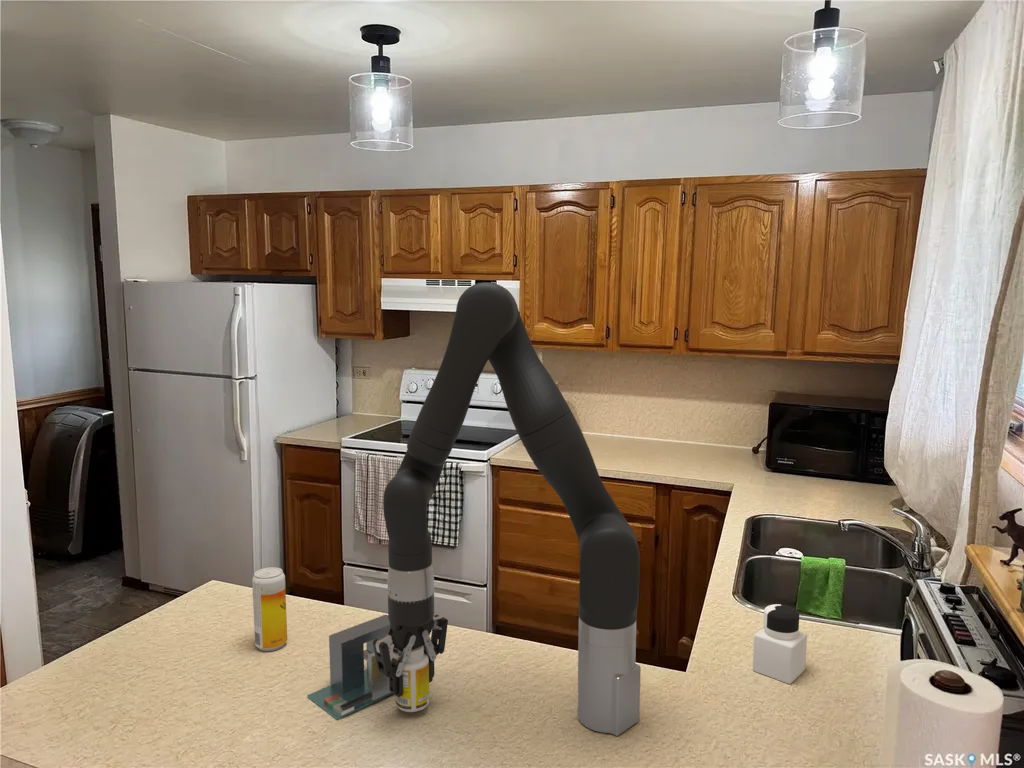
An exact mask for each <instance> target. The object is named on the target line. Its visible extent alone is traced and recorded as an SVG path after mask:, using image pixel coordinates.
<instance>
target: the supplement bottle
mask: <svg viewBox="0 0 1024 768" xmlns="http://www.w3.org/2000/svg"><path fill="white" fill-rule="evenodd" d="M399 653H400V654H401V655H402V652H401V651H400V652H399ZM397 662H398V661H397ZM396 665H397V663H396ZM402 675H403V695H402V696H400V697H397V696H395V704H396V705H395V706H396V707H397V708H398V709H399V710H401V711H403V712H406V713H414V712H419V711H421V710H424V709H425V708H427V706H428V705H429V702H430V683H429V659H428V656H427V655H426V654H425V653H424V646H420V647H418V648H416V649H414V650H411V652H410V655H409V659H408V661H407V662H406V663H405V664H404V668H403V671H402Z"/></svg>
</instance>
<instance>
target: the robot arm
mask: <svg viewBox="0 0 1024 768" xmlns="http://www.w3.org/2000/svg"><path fill="white" fill-rule="evenodd" d="M452 322H453V323H452V327H451V330H450V331H451V332H450V335H449V339H448V342H447V346H446V349H445V352H444V355H443V358H442V361H441V363H440V367H439V369H438V370H437V371H438V372H437V373H436V376H435V378H434V381H433V382H432V384H431V387H430V389H429V391H428V393H427V395H426V398H425V400H424V403H423V404H422V407H421V409H420V411H419V413H418V415H417V417H416V420H415V423H414V425H413V427H412V429H411V432H410V435H409V436H408V440H407V444H406V448H407V449H406V452H405V454H404V456H403V458H402V461H401V463H400V465H399V467H398V470H397V471H396V473H395V475H394V476H393V477H392V478H391V479H390V480H389V482H388V483H387V484H386V486H385V489H384V490H383V491H384V492H383V499H382V505H383V506H382V509H383V510H382V511H383V517H384V523H385V528H386V532H387V537H388V547H387V549H388V570H387V582H386V583H387V615H388V618H389V622H390V630H389V632H388V636H386V637H384V638H383V639H381V640H380V639H378V638H376V639H375V640H374V641H373V647H374V652H375V657H376V662H377V668H378V671H379V672H381V673H382V674H384V675H386V676H387V677H389V690H390V692H392V693H393V694H392V695H394V696H395V697H396V696H397V697H400V696H402V695H403V675H402V671H403V668H404V664H405V663H406V662H407V661H408V659H409V655H410V652H411V650H414V649H416V648H418V647H420V646H424V653H425V654H426V655H427V656H428V659H429V684H430V683H432V682H433V680H434V676H435V661H436V659H437V657H438V655H442V654H443V653H444V652H445V649H446V641H447V631H448V625H449V620H448V618H445V617H444V616H443V615H442V616H441V615H439V614H435V576H434V570H433V569H434V568H433V545H432V544H433V543H432V541H433V540H432V534H431V532H430V530H429V529H428V515H427V514H428V505H429V502H430V501H431V499H432V498H433V495H434V493H435V491H436V489H437V488H436V487H437V486H438V483H439V480H440V477H441V475H442V472H443V468H444V465H445V462H446V461H447V459H448V458H449V456H450V454H451V452H452V451H453V450H452V449H453V448H454V446H455V444H456V442H457V441H456V440H457V439H458V436H459V434H460V431H461V429H462V426H463V425H464V422H465V419H466V416H467V414H468V411H469V407H470V405H471V401H472V397H473V394H474V392H475V389H476V388H477V387H476V386H477V385H478V382H479V379H480V376H481V374H482V372H483V371H484V369H485V366H486V364H487V362H489V363H490V366H491V367H492V369H493V371H494V373H495V375H496V376H497V380H498V383H499V385H500V389H501V392H502V396H503V399H504V401H505V404H506V408H507V411H508V413H509V415H510V419H511V422H512V423H513V426H514V429H515V431H516V432H517V433H516V434H517V435H518V436H519V439H520V441H521V442H522V445H523V447H524V449H525V451H526V452H527V454H528V456H529V457H530V460H531V461H532V463H533V464H534V466H535V467H536V469H537V470H538V471H539V473H540V474H541V475H542V477H543V478H544V479H545V481H546V482H547V483H548V484H549V486H550V487H551V488H552V489H553V490H554V491H555V493H556V494H557V496H558V497H559V499H560V500H561V502H562V503H563V506H564V508H565V510H566V511H567V515H568V516H569V518H570V521H571V524H572V526H573V528H574V531H575V534H576V537H577V540H578V543H579V597H578V642H577V643H578V645H577V648H578V649H577V650H578V652H577V654H578V655H577V658H578V659H577V718H578V721H579V722H580V723H581V724H582V725H583V726H584V727H586V728H587V729H589V730H591V731H595V732H599V733H603V734H604V733H605V734H612V735H614V736H616V737H617V736H619V735H621V734H622V733H624V732H625V731H627V730H628V729H630V728H631V727H633V726H634V725H635V724H636V723H638V722H640V715H641V714H640V712H641V711H640V707H641V704H640V703H641V702H640V701H641V670H642V669H641V668H642V667H641V666H640V665H639V664H638V663H636V648H637V615H638V608H639V601H640V600H639V597H640V595H639V593H640V573H641V561H640V560H641V555H640V553H641V552H640V547H639V544H638V541H637V538H636V534H635V532H634V529H633V528H632V526H631V525H630V523H629V522H628V521H627V518H625V516H624V515H623V514H622V512H621V511H620V509H619V507H618V505H617V504H616V503H615V501H614V499H613V498H612V496H611V495H610V493H609V492H608V490H607V488H606V487H605V485H604V483H603V481H602V479H601V477H600V475H599V472H598V469H597V466H596V463H595V460H594V457H593V455H592V452H591V450H590V448H589V445H588V442H587V440H586V438H585V436H584V434H583V432H582V429H581V427H580V425H579V424H578V422H577V421H578V420H577V419H576V418H575V415H574V413H573V411H572V409H571V408H570V406H569V404H568V402H567V400H565V398H564V395H563V394H562V392H561V390H560V389H559V387H558V386H557V384H556V382H555V381H554V379H553V378H552V376H551V375H550V373H549V371H548V370H547V368H546V367H545V365H544V364H543V362H542V361H541V358H539V356H538V354H537V352H536V350H535V348H534V346H533V343H532V341H531V339H530V337H529V334H528V331H527V329H526V327H525V324H524V321H523V318H522V316H521V314H520V311H519V308H518V304H517V301H516V299H515V297H514V295H513V294H512V293H511V292H510V291H509V290H508V289H507V288H505V287H504V286H502V285H500V284H497V283H494V282H485V281H484V282H479V283H475V284H472V285H470V286H469V287H468V288H466V289H465V290H464V291H463V293H462V294H461V295H460V296H459V298H458V300H457V304H456V309H455V313H454V319H453V321H452ZM430 635H431V636H430ZM391 643H393V644H392V647H391V649H390V645H391ZM398 650H399V651H401V652H402V655H401V654H400V653H399V651H398ZM389 652H390V654H389ZM397 661H398V662H397ZM396 663H397V665H396Z"/></svg>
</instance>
